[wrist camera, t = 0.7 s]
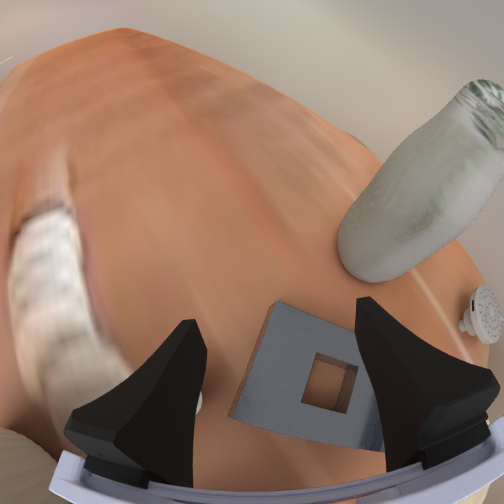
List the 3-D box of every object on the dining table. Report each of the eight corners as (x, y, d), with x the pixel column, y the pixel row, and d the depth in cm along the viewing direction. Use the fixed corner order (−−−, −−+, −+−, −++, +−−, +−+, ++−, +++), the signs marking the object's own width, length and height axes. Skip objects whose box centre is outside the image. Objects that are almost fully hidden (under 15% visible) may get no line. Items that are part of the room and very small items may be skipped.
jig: (363, 448, 23) (388, 452, 19) (227, 415, 22) (236, 421, 18) (386, 354, 29) (411, 346, 25) (269, 307, 28) (283, 293, 25)
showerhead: (508, 347, 25) (481, 331, 25) (475, 358, 32) (445, 345, 31) (504, 295, 30) (478, 273, 30) (476, 310, 37) (446, 292, 36)
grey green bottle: (330, 215, 37) (451, 43, 13) (388, 246, 37) (520, 111, 13) (315, 274, 32) (493, 71, 8) (382, 305, 32) (565, 168, 8)
